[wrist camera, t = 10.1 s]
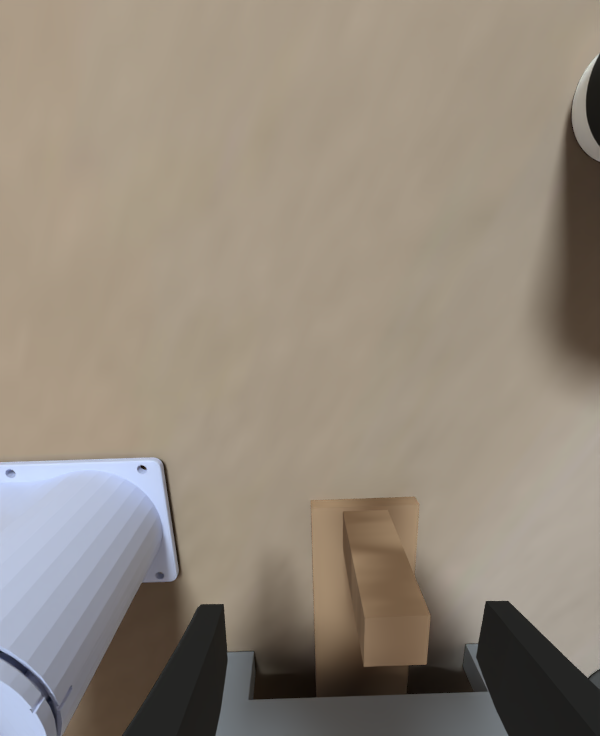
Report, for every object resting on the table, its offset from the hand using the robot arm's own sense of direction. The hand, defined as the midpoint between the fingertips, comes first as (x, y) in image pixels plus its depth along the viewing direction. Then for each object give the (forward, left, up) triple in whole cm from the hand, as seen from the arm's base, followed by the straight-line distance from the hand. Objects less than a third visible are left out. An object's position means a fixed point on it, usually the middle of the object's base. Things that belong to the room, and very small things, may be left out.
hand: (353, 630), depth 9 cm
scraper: (+2, -14, -10) cm, 17 cm away
